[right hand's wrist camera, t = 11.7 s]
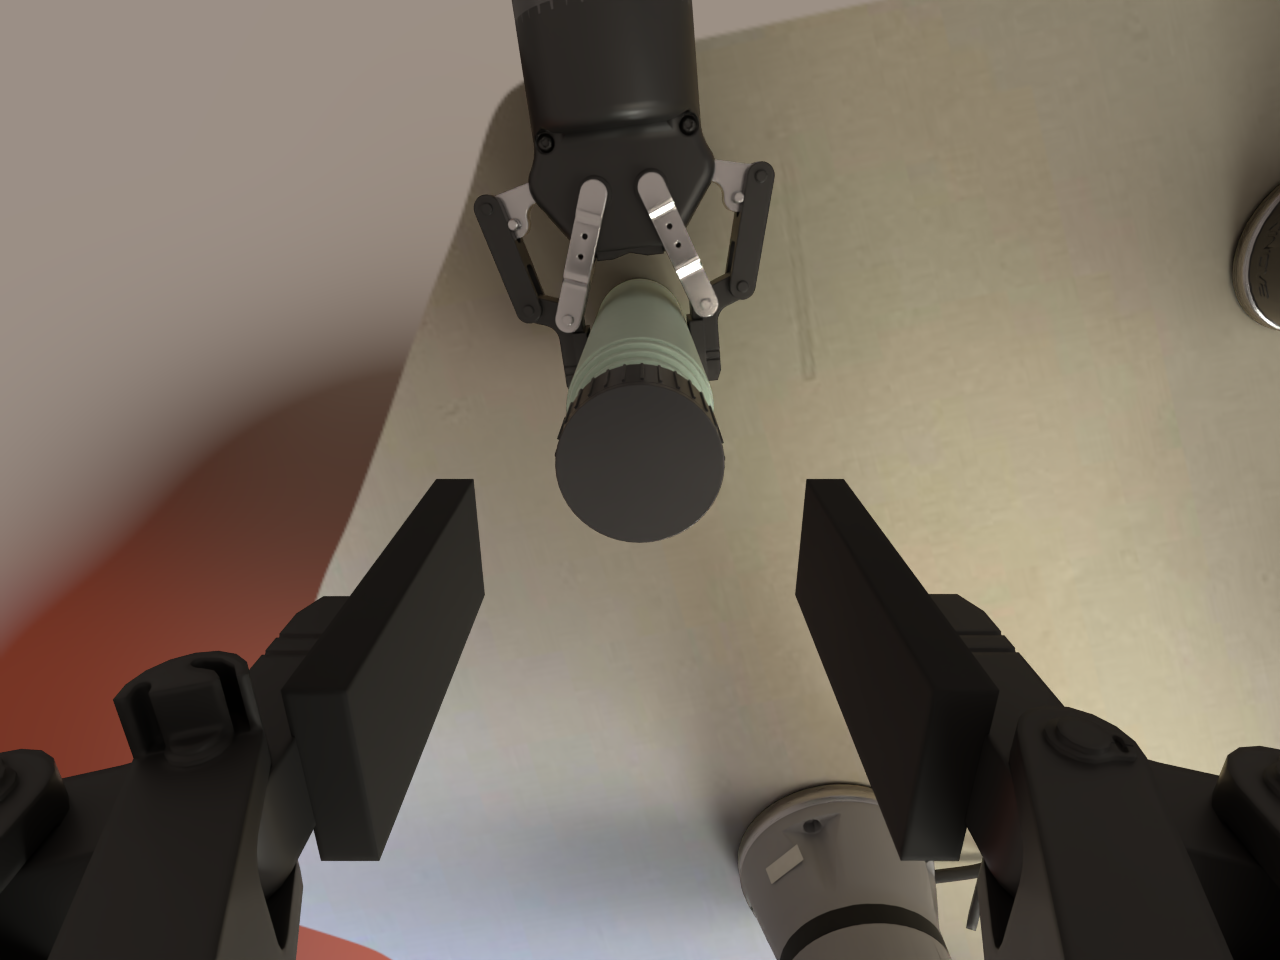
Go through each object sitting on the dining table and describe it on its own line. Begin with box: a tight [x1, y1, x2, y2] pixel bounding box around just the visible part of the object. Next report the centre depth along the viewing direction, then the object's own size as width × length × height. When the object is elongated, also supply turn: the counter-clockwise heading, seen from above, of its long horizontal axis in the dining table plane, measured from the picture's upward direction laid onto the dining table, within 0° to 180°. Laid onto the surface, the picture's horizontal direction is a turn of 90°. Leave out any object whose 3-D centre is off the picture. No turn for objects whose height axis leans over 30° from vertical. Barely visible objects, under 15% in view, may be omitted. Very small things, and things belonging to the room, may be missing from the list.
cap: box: [555, 363, 725, 543], centre depth 19 cm, size 5×5×2 cm
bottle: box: [566, 279, 714, 413], centre depth 30 cm, size 5×5×24 cm
